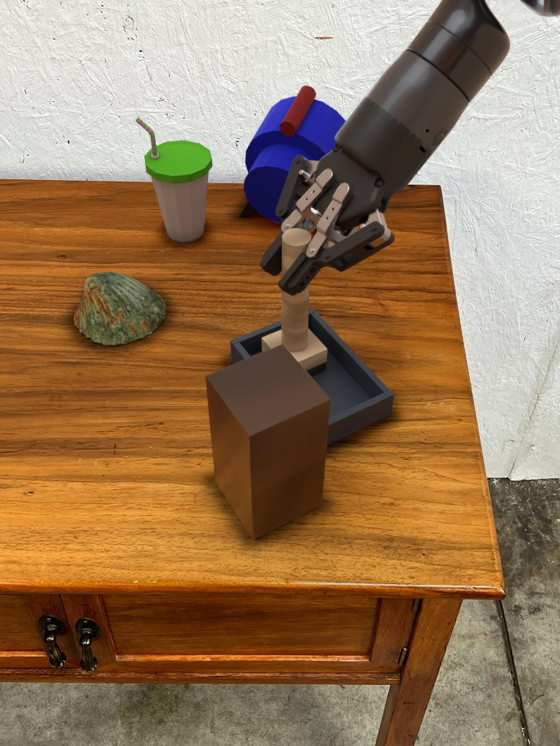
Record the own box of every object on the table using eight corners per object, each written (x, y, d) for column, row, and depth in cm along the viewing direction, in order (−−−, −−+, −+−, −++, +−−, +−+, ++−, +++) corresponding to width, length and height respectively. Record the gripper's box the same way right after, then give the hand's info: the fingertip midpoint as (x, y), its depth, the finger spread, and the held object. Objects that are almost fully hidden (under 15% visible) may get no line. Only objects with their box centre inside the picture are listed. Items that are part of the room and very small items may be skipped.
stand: (322, 505, 68) (330, 399, 58) (253, 540, 66) (249, 436, 56) (281, 451, 72) (282, 343, 62) (214, 482, 70) (204, 375, 60)
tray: (391, 415, 76) (394, 394, 73) (305, 457, 72) (306, 435, 70) (311, 328, 84) (312, 307, 82) (231, 361, 80) (229, 340, 78)
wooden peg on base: (326, 369, 79) (334, 242, 67) (286, 387, 77) (287, 260, 66) (301, 341, 82) (305, 214, 70) (261, 358, 80) (259, 231, 68)
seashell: (99, 327, 78) (51, 278, 83) (102, 358, 80) (56, 308, 86) (182, 292, 83) (131, 248, 88) (182, 322, 85) (134, 278, 91)
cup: (230, 228, 97) (224, 116, 86) (188, 259, 92) (176, 145, 81) (183, 206, 100) (172, 95, 89) (140, 235, 96) (123, 122, 85)
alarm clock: (354, 195, 102) (363, 86, 91) (323, 248, 94) (330, 135, 83) (268, 176, 105) (267, 68, 94) (231, 226, 97) (226, 114, 86)
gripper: (331, 66, 67) (212, 226, 71) (433, 138, 59) (292, 314, 63) (375, 109, 73) (263, 254, 77) (473, 180, 64) (341, 338, 69)
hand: (276, 280), depth 70 cm, fingers closed on wooden peg on base, 2 cm apart
